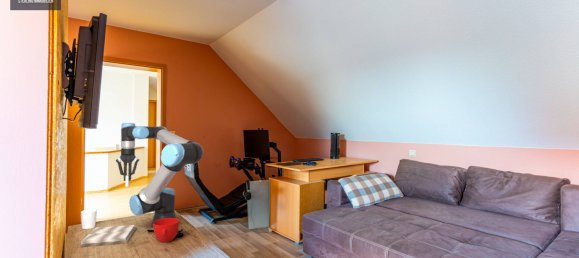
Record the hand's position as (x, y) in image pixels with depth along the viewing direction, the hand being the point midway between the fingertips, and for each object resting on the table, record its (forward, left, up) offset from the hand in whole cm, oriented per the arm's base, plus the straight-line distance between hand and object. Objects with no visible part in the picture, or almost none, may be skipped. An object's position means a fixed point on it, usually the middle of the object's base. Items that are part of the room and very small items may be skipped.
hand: (127, 186), depth 179 cm
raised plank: (+4, +14, -23) cm, 27 cm away
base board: (+4, +19, -24) cm, 31 cm away
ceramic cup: (-26, +32, -25) cm, 48 cm away
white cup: (+21, -2, -25) cm, 32 cm away
